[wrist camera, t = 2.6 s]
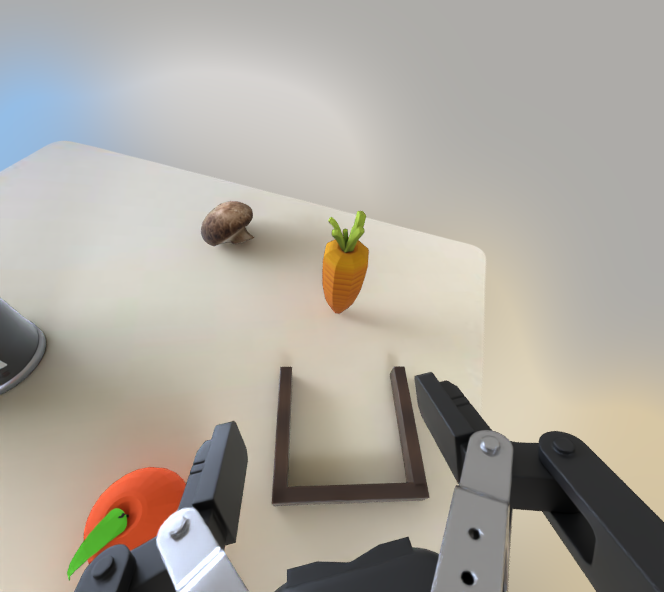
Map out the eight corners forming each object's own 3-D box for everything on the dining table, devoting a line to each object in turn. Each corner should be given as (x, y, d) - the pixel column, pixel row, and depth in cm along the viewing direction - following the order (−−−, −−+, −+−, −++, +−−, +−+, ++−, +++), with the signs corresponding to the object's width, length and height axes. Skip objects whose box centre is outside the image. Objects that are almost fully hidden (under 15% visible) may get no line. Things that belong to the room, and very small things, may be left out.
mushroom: (272, 231, 45) (242, 193, 41) (227, 268, 44) (193, 233, 40) (259, 222, 51) (233, 189, 48) (220, 254, 50) (190, 222, 47)
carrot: (323, 331, 39) (333, 239, 27) (314, 300, 42) (319, 204, 30) (361, 324, 40) (387, 232, 28) (349, 293, 43) (368, 199, 31)
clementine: (125, 618, 23) (69, 642, 18) (81, 538, 26) (20, 536, 20) (218, 518, 27) (197, 511, 21) (172, 457, 30) (142, 436, 24)
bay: (422, 500, 29) (429, 497, 27) (273, 506, 28) (271, 504, 26) (400, 374, 36) (404, 366, 35) (281, 374, 35) (280, 366, 34)
